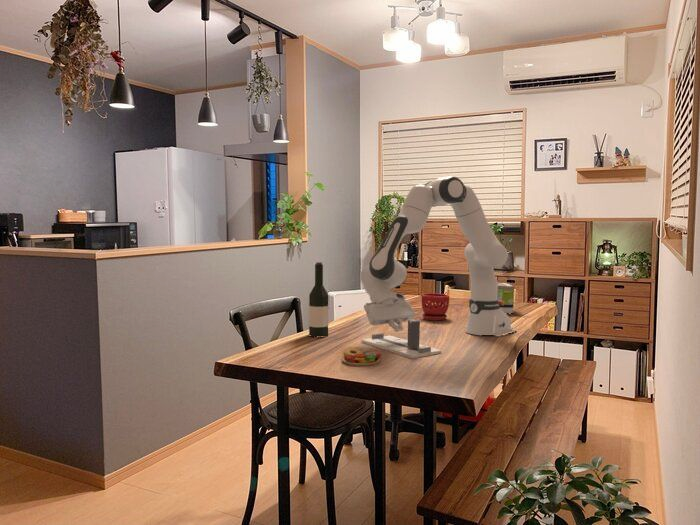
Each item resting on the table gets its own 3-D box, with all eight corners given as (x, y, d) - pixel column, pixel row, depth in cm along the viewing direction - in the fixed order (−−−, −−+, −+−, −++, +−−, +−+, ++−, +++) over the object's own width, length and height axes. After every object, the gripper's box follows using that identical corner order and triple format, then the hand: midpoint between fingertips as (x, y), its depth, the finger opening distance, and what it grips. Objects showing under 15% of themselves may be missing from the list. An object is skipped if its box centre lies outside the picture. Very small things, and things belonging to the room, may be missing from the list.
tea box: (513, 314, 283) (514, 285, 282) (494, 314, 284) (494, 285, 282) (506, 309, 298) (506, 282, 297) (487, 309, 299) (487, 282, 297)
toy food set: (344, 356, 196) (344, 347, 196) (382, 358, 195) (382, 348, 194) (339, 366, 183) (339, 357, 183) (380, 368, 182) (380, 358, 181)
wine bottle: (331, 334, 232) (332, 262, 229) (324, 338, 224) (324, 263, 222) (313, 332, 235) (313, 261, 232) (305, 336, 227) (305, 262, 224)
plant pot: (450, 321, 263) (451, 296, 262) (422, 321, 263) (423, 295, 262) (446, 316, 276) (447, 292, 275) (419, 316, 276) (420, 292, 275)
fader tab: (413, 346, 205) (414, 319, 204) (419, 348, 203) (419, 320, 202) (407, 347, 204) (407, 320, 203) (412, 349, 201) (413, 321, 200)
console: (389, 337, 226) (389, 331, 226) (441, 353, 201) (441, 346, 201) (361, 341, 218) (361, 335, 218) (411, 358, 193) (411, 350, 193)
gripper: (365, 298, 209) (381, 328, 202) (407, 294, 220) (423, 323, 213) (358, 308, 213) (373, 338, 206) (400, 304, 225) (416, 332, 217)
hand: (399, 330), depth 210 cm, fingers closed
